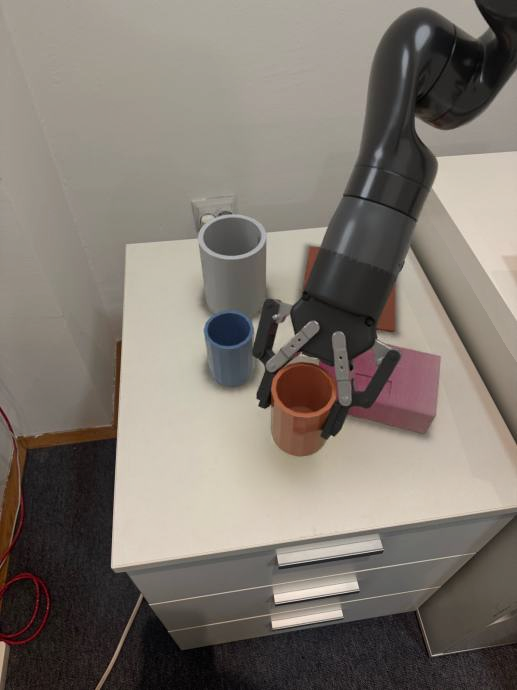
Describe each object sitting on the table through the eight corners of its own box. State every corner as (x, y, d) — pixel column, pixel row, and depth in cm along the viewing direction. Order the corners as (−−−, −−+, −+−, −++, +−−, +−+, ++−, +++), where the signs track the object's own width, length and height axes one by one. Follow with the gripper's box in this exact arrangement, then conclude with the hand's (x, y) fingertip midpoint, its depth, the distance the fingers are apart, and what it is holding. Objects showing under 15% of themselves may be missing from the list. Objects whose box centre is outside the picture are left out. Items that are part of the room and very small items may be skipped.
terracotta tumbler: (330, 409, 54) (339, 366, 47) (325, 461, 50) (334, 421, 43) (275, 402, 54) (276, 358, 48) (266, 452, 51) (266, 412, 44)
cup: (193, 301, 74) (184, 240, 64) (231, 268, 78) (227, 206, 69) (241, 329, 71) (238, 269, 61) (277, 292, 75) (279, 231, 65)
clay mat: (394, 257, 80) (394, 255, 79) (394, 332, 70) (395, 330, 70) (309, 247, 81) (309, 246, 81) (298, 320, 72) (298, 318, 71)
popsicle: (270, 395, 64) (425, 434, 60) (270, 375, 60) (436, 415, 57) (287, 342, 69) (430, 375, 66) (289, 320, 65) (441, 354, 62)
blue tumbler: (257, 353, 68) (257, 313, 61) (249, 389, 64) (248, 351, 58) (215, 347, 69) (210, 307, 62) (205, 383, 65) (198, 345, 58)
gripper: (277, 227, 43) (215, 396, 46) (436, 283, 39) (356, 467, 42) (300, 238, 50) (245, 385, 53) (437, 288, 46) (368, 444, 49)
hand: (294, 420), depth 48 cm, fingers closed on terracotta tumbler, 6 cm apart
